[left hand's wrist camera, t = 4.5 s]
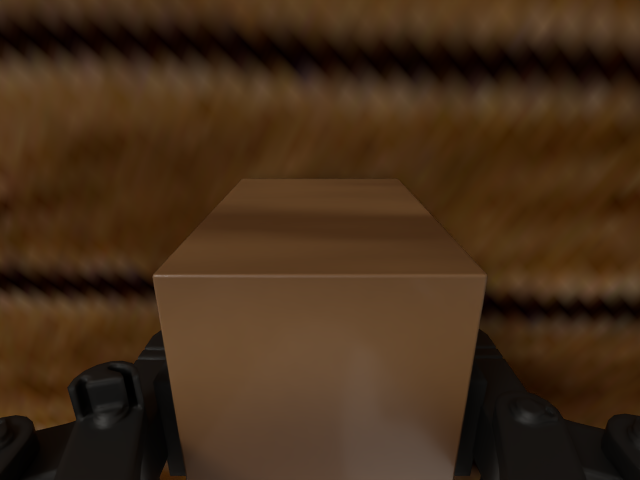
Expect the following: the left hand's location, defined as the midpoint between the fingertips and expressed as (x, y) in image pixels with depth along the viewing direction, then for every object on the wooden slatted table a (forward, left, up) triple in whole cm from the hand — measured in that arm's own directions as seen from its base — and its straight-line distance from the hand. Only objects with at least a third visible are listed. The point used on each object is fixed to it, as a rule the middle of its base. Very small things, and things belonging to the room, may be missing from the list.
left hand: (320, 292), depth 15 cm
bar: (0, +9, -1) cm, 9 cm away
